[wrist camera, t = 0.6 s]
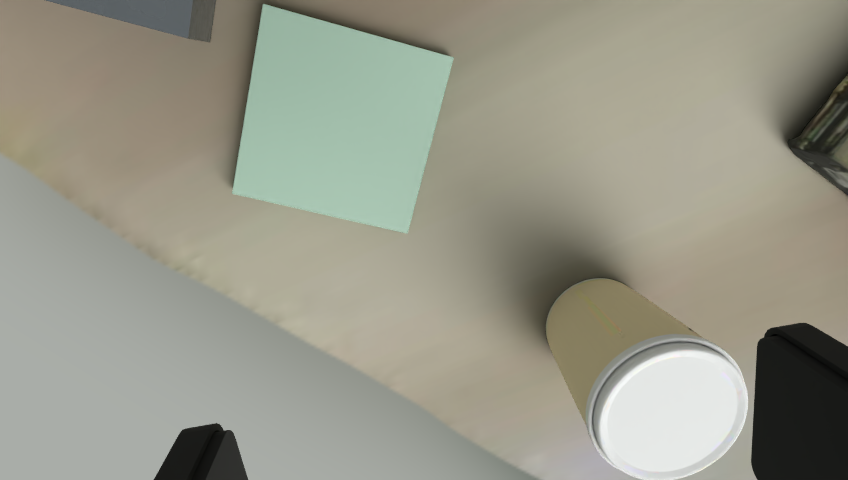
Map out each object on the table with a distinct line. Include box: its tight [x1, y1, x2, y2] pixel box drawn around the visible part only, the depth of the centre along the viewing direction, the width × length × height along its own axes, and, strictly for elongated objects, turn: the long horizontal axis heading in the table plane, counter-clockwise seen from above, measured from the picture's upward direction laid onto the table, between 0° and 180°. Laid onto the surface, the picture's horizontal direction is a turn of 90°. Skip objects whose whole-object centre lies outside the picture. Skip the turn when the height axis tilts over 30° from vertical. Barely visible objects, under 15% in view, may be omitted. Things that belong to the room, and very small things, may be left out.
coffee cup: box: [546, 278, 748, 480], centre depth 36 cm, size 9×9×12 cm
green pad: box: [232, 4, 454, 234], centre depth 35 cm, size 12×12×1 cm
